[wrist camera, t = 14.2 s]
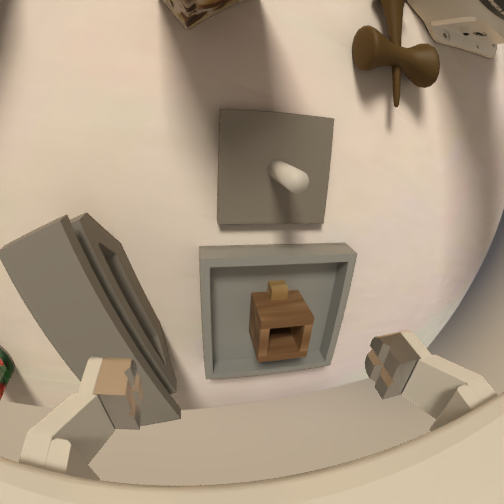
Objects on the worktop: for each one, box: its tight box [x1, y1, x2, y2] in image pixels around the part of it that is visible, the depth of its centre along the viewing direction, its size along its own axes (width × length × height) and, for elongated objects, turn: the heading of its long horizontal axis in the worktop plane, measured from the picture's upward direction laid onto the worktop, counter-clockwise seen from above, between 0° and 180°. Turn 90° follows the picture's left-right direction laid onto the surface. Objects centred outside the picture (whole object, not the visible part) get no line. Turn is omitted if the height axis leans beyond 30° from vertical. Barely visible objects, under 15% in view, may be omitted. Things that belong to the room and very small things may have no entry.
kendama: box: [352, 0, 440, 107], centre depth 25 cm, size 6×10×20 cm
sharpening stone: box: [0, 213, 181, 426], centre depth 30 cm, size 25×8×11 cm, turn 15°
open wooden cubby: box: [249, 280, 315, 362], centre depth 36 cm, size 8×6×6 cm
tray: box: [199, 243, 357, 379], centre depth 38 cm, size 18×18×3 cm
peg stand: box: [217, 110, 334, 224], centre depth 29 cm, size 12×12×8 cm
